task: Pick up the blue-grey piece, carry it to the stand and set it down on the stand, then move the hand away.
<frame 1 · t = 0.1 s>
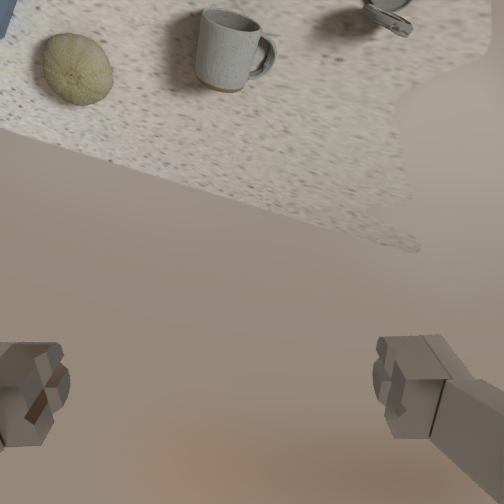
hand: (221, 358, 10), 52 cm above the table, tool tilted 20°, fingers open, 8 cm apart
ceramic mug: (236, 43, 52), on the table
sea urchin shell: (83, 65, 54), on the table
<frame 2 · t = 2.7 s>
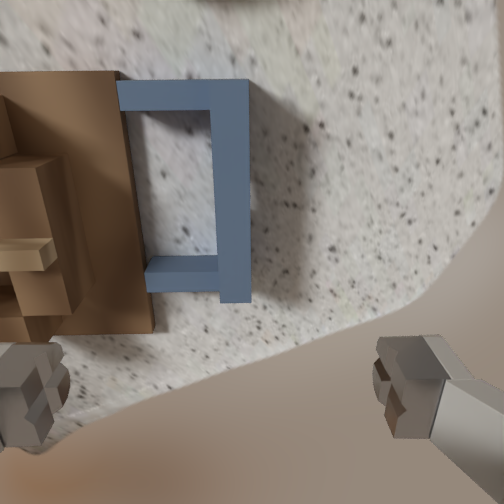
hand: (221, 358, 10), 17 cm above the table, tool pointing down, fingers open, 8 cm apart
stand: (29, 218, 26), on the table
blue-grey piece: (234, 186, 25), on the table
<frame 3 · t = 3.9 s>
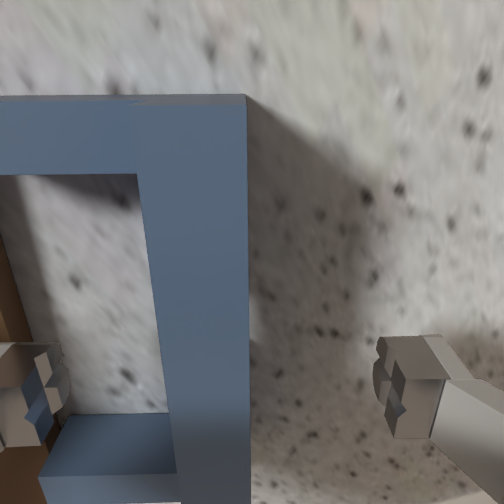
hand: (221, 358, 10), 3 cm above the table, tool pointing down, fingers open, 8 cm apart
blue-grey piece: (217, 303, 13), on the table
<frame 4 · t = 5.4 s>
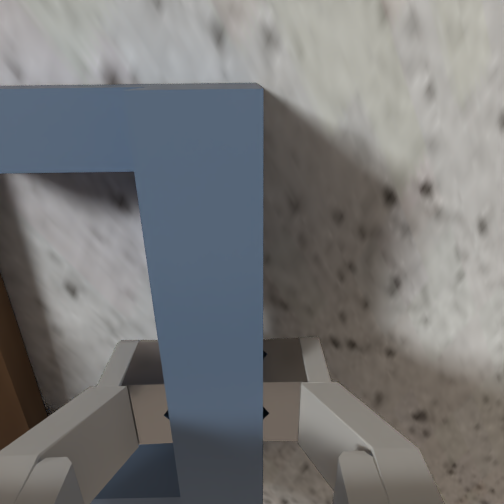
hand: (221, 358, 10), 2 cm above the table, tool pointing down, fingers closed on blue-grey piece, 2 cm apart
blue-grey piece: (225, 312, 12), on the table, touching gripper
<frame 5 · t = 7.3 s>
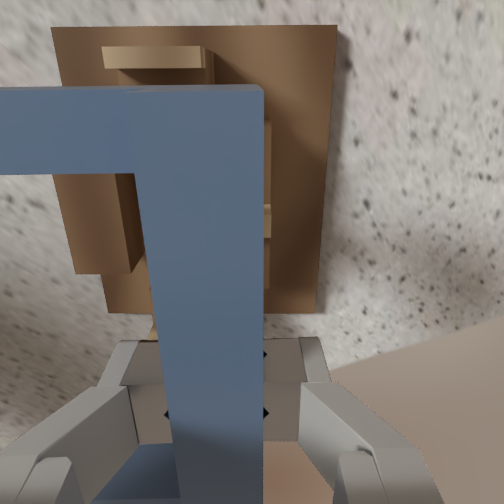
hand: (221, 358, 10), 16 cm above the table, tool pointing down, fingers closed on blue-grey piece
stand: (205, 188, 25), on the table
blue-grey piece: (225, 313, 12), point 14 cm above the table, touching gripper
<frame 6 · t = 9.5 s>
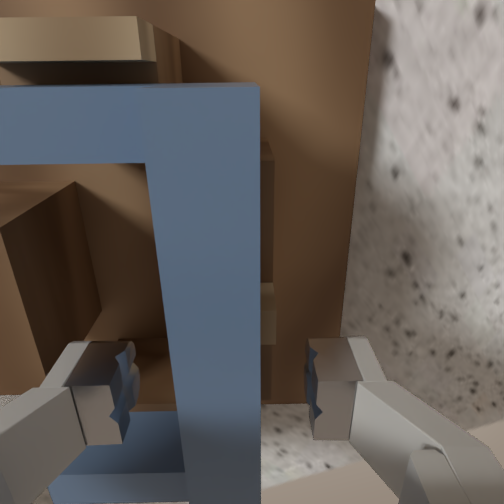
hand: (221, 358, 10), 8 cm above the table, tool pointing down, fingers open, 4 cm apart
stand: (176, 240, 17), on the table
blue-grey piece: (225, 299, 12), point 5 cm above the table, touching stand
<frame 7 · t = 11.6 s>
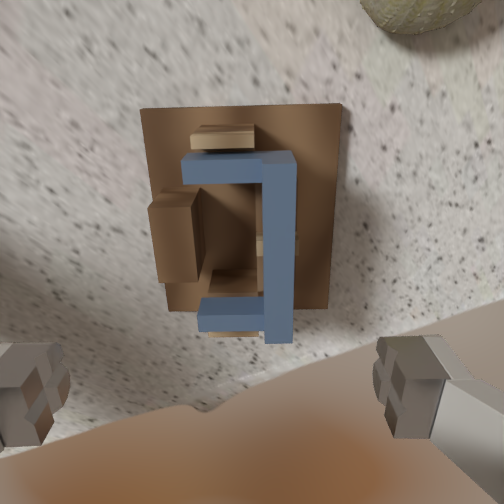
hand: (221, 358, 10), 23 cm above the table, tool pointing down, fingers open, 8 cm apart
stand: (244, 216, 33), on the table
blue-grey piece: (276, 239, 28), point 5 cm above the table, touching stand
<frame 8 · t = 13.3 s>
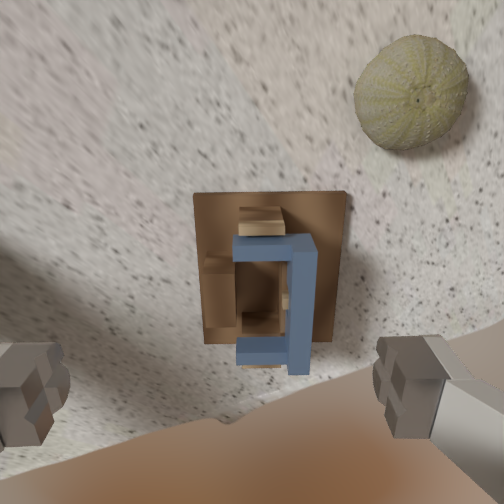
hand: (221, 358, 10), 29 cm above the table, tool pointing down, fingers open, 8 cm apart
sea urchin shell: (399, 94, 35), on the table
stand: (268, 271, 42), on the table
blue-grey piece: (296, 294, 37), point 5 cm above the table, touching stand
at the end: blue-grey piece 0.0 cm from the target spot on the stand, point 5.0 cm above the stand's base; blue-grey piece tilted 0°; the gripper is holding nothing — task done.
